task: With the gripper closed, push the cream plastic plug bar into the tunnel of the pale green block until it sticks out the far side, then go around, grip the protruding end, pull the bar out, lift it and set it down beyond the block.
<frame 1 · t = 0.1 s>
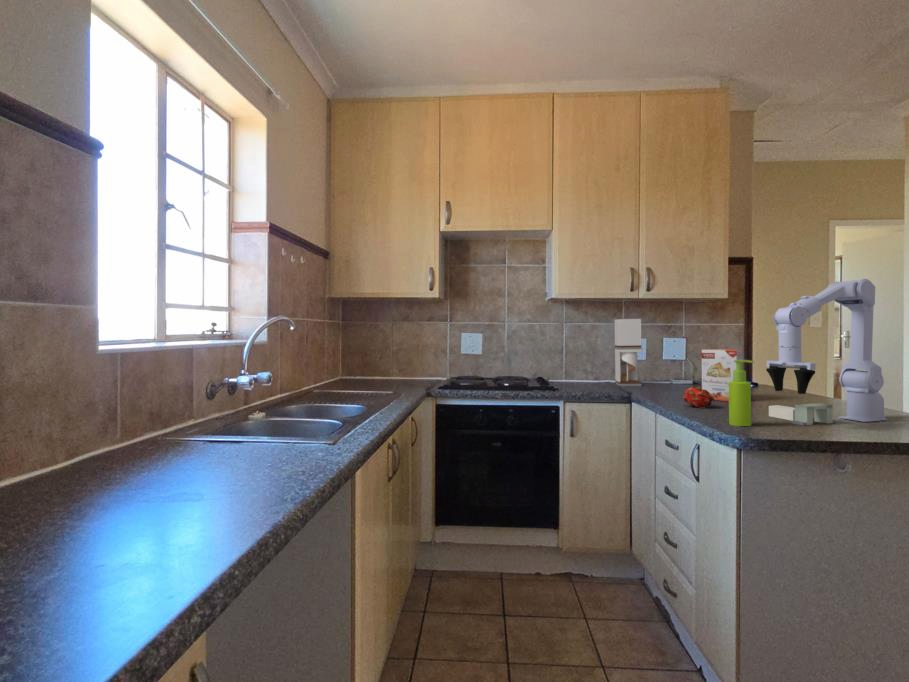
hand: (790, 392, 149), 10 cm above the worktop, tool pointing down, fingers open, 7 cm apart
soap dispenser: (742, 425, 152), on the worktop
pale green block: (813, 422, 153), on the worktop
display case: (628, 385, 264), on the worktop
cracker box: (722, 400, 203), on the worktop
dragon fruit: (698, 407, 187), on the worktop
plug bar: (787, 418, 161), on the worktop
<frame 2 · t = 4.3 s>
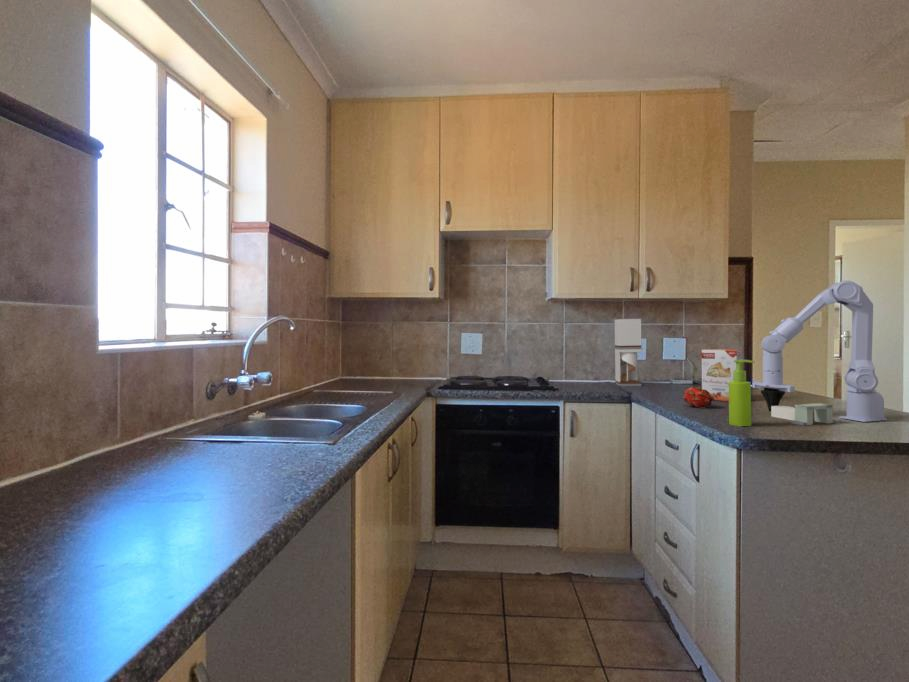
hand: (772, 411, 166), 1 cm above the worktop, tool pointing down, fingers closed
plug bar: (789, 418, 160), on the worktop, touching gripper
everything else where it was.
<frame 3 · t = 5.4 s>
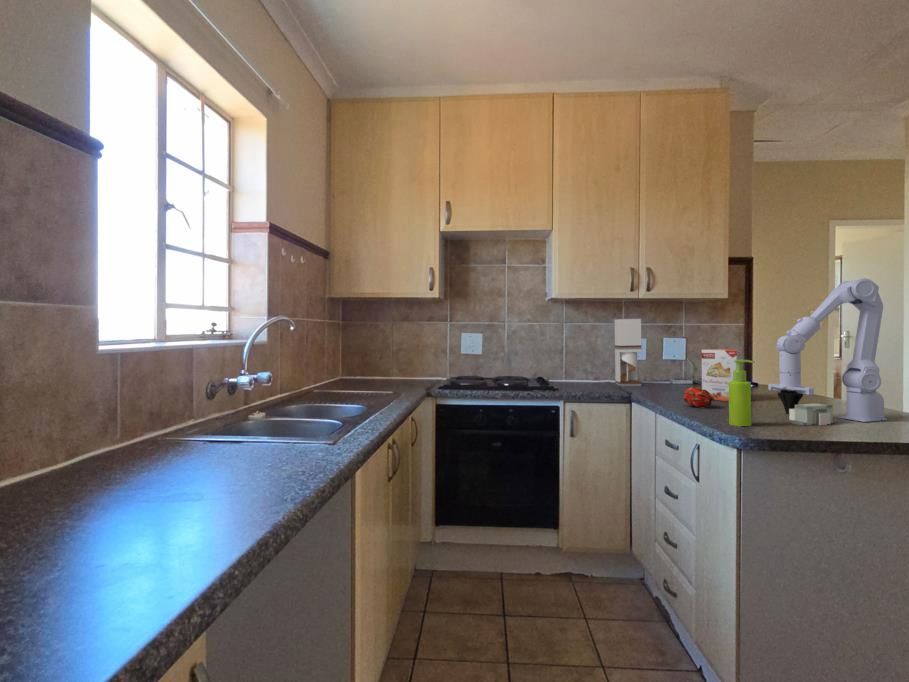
hand: (790, 414, 160), 1 cm above the worktop, tool pointing down, fingers closed
plug bar: (809, 422, 154), on the worktop, touching gripper
everything else where it was.
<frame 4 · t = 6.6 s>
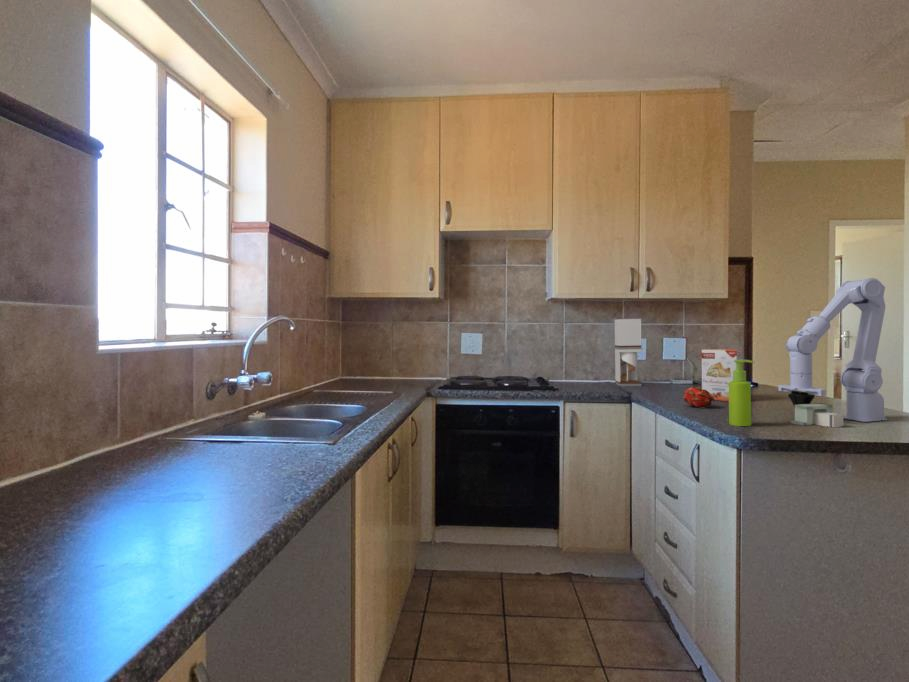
hand: (801, 416, 156), 1 cm above the worktop, tool pointing down, fingers closed
plug bar: (821, 424, 150), on the worktop, touching gripper
everything else where it was.
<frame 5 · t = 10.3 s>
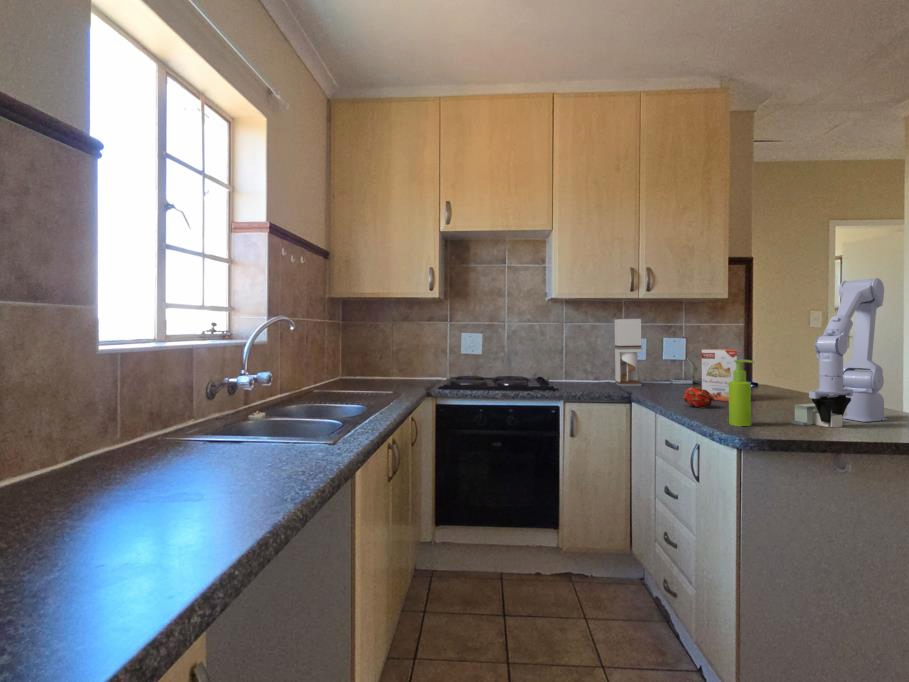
hand: (831, 421, 147), 1 cm above the worktop, tool pointing down, fingers closed on plug bar, 4 cm apart
plug bar: (820, 424, 150), on the worktop, touching gripper
everything else where it was.
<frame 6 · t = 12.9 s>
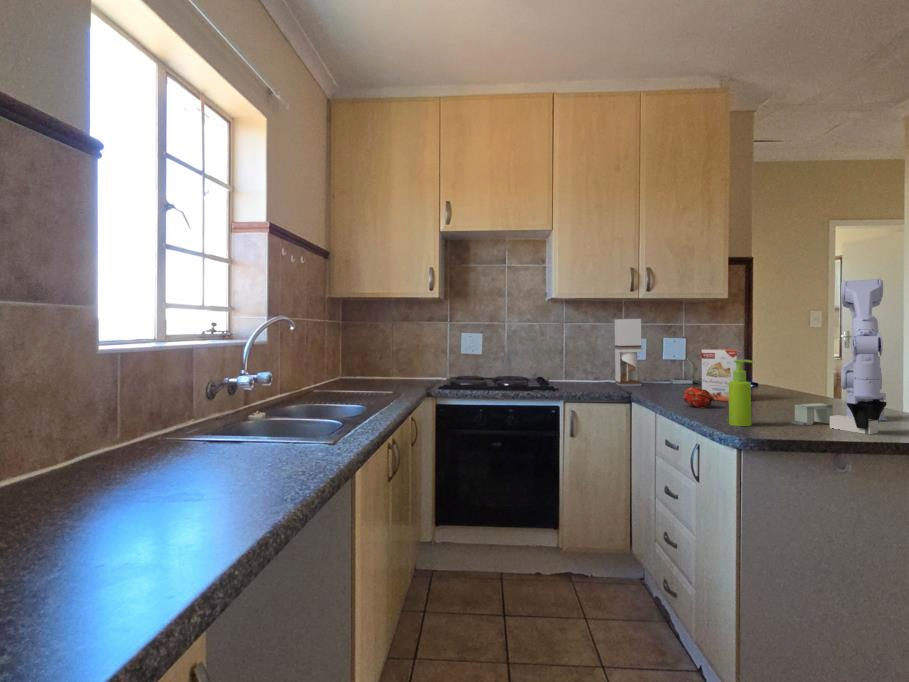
hand: (866, 427, 138), 1 cm above the worktop, tool pointing down, fingers closed on plug bar, 4 cm apart
plug bar: (853, 430, 141), on the worktop, touching gripper
everything else where it was.
when the fingers open (3 cm above the worktop, at t = 15.3 s): plug bar drops 1 cm, on the worktop.
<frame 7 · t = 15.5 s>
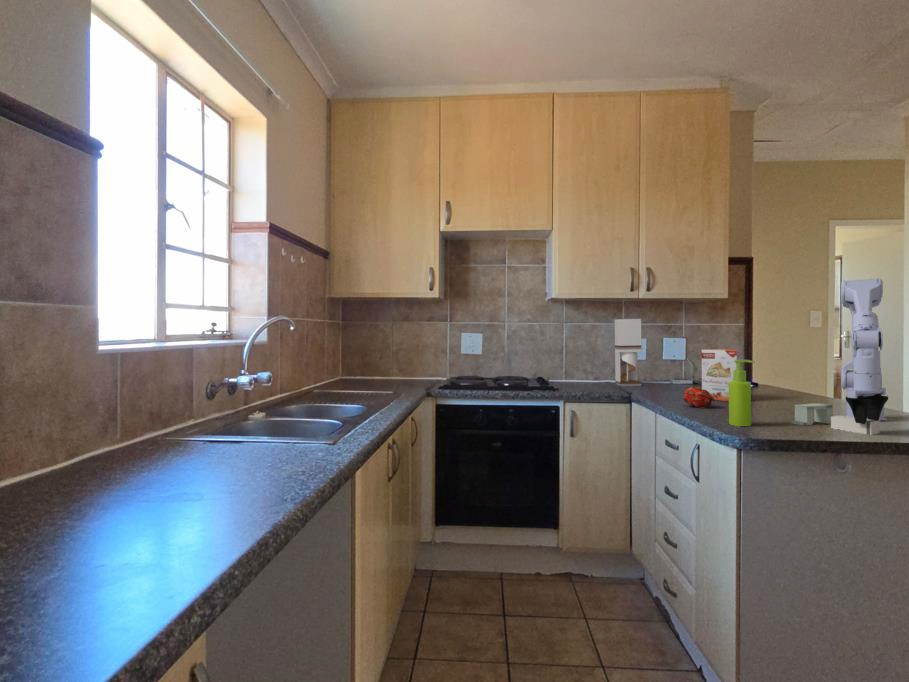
hand: (866, 422, 137), 3 cm above the worktop, tool pointing down, fingers open, 5 cm apart
plug bar: (854, 430, 140), on the worktop
everything else where it was.
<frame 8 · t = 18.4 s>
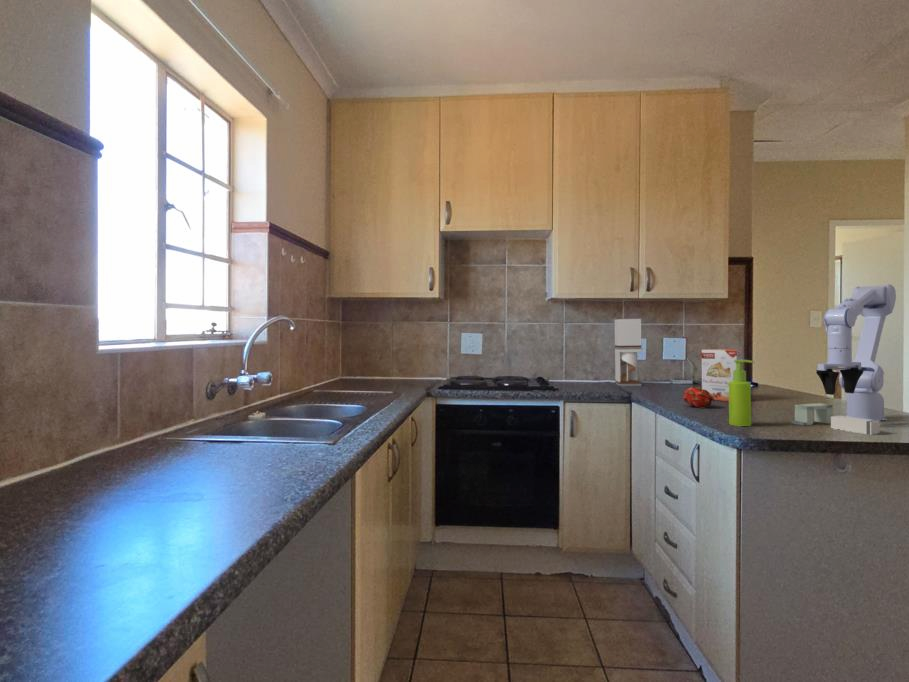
hand: (839, 393, 149), 9 cm above the worktop, tool pointing down, fingers open, 7 cm apart
nothing on the worktop moved.
at the end: plug bar inside the target area (2.1 cm from its centre), on the worktop; plug bar tilted 0°; the gripper is holding nothing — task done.
